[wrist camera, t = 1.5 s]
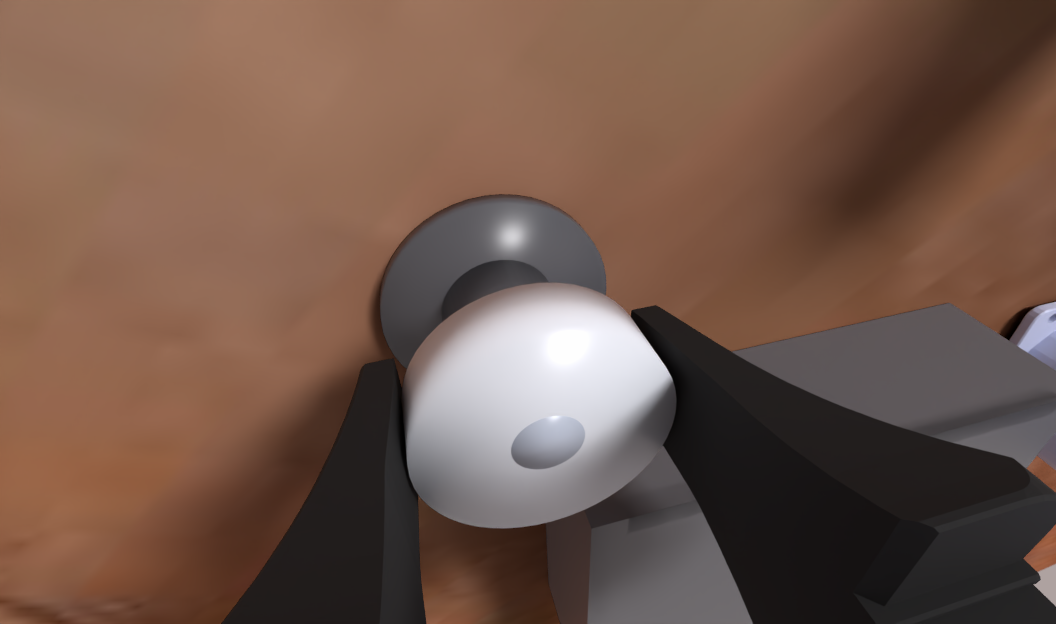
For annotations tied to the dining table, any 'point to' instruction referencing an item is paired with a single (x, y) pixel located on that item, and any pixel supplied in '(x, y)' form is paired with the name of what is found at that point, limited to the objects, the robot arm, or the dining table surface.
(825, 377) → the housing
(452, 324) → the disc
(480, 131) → the dining table surface
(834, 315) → the dining table surface
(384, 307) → the disc
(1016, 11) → the dining table surface
